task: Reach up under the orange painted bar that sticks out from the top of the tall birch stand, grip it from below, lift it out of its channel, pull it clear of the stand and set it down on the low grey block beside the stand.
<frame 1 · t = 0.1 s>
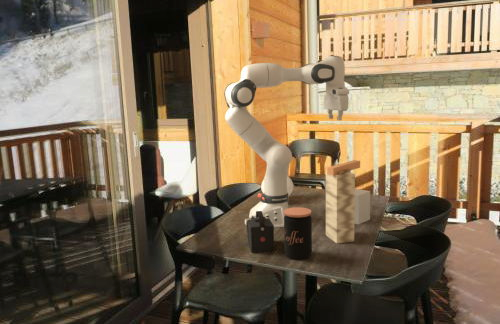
hand: (335, 119, 220), 48 cm above the table, tool pointing down, fingers open, 8 cm apart
camera: (261, 246, 190), on the table
decorative vase: (277, 203, 254), on the table
stand: (339, 238, 196), on the table
step: (355, 219, 220), on the table
bar: (344, 170, 193), point 29 cm above the table, touching stand
coffee jar: (298, 255, 179), on the table
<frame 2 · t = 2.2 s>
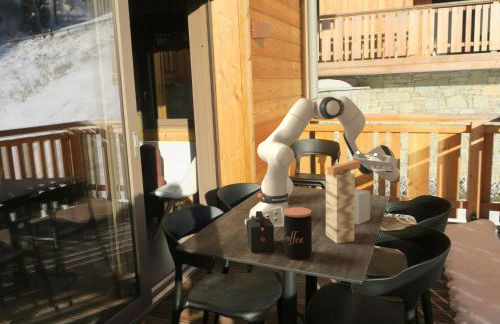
hand: (366, 153, 210), 33 cm above the table, tool pointing upward, fingers open, 8 cm apart
nothing on the table moved.
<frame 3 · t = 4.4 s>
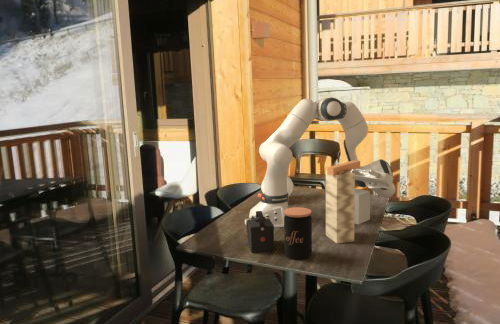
hand: (361, 170, 203), 27 cm above the table, tool pointing upward, fingers open, 8 cm apart
nothing on the table moved.
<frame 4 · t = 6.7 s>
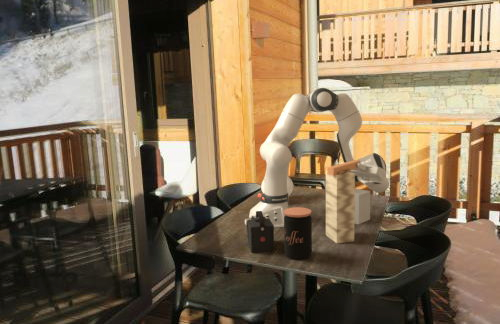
hand: (353, 164, 197), 31 cm above the table, tool pointing upward, fingers closed on bar, 3 cm apart
bar: (344, 170, 193), point 29 cm above the table, touching gripper, stand
everything else where it was.
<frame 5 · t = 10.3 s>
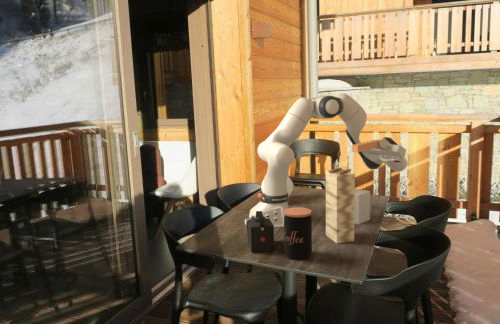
hand: (375, 142, 208), 38 cm above the table, tool pointing upward, fingers closed on bar, 3 cm apart
bar: (367, 149, 204), point 36 cm above the table, touching gripper
everything else where it was.
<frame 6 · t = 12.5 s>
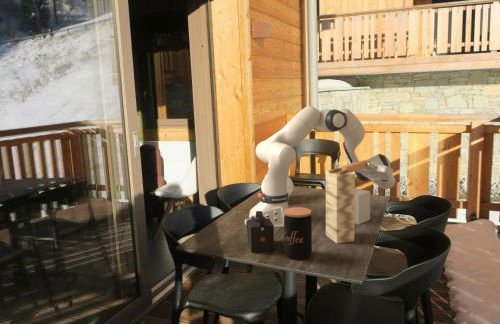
hand: (363, 163, 220), 27 cm above the table, tool pointing upward, fingers closed on bar, 3 cm apart
bar: (355, 169, 215), point 25 cm above the table, touching gripper
everything else where it was.
when the fingers open (19 cm above the table, at t = 14.4 s): bar drops 3 cm, resting on step.
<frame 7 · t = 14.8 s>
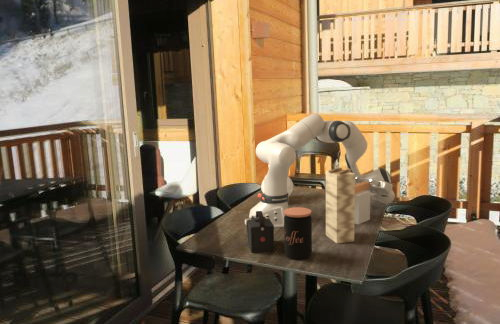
hand: (363, 179, 221), 19 cm above the table, tool pointing upward, fingers open, 7 cm apart
bar: (355, 191, 217), point 14 cm above the table, touching step
everything else where it was.
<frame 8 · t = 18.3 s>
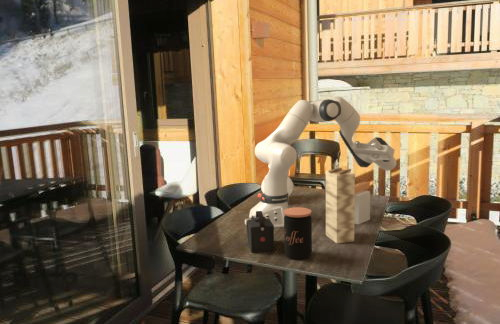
hand: (364, 143, 219), 36 cm above the table, tool pointing upward, fingers open, 8 cm apart
nothing on the table moved.
at the end: bar inside the target area on the step (0.1 cm from its centre), point 14.0 cm above the step's base; bar touching step; the gripper is holding nothing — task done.
